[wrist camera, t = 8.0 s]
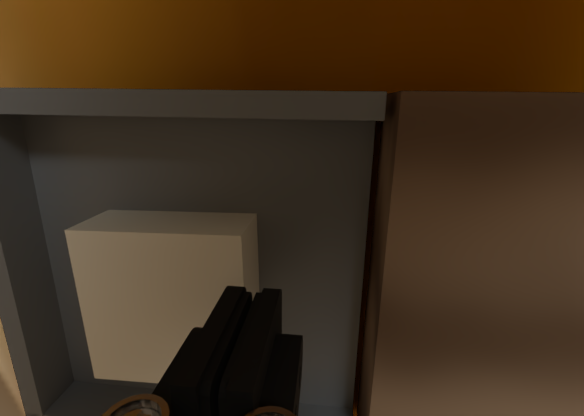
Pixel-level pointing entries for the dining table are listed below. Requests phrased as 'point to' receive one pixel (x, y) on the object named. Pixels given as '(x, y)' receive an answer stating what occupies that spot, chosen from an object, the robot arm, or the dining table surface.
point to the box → (184, 198)
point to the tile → (155, 282)
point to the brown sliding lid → (477, 257)
